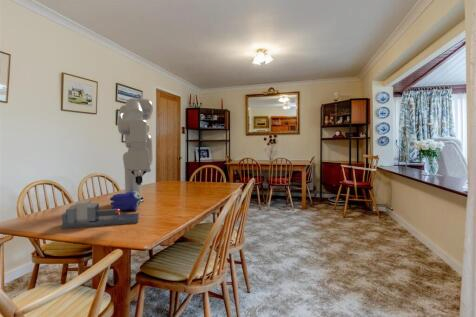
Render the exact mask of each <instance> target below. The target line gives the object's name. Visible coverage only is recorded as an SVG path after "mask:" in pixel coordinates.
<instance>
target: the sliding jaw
mask: <svg viewBox="0 0 476 317" xmlns="http://www.w3.org/2000/svg"><path fill="white" fill-rule="evenodd" d="M99 204H100V203H99V202H94V203H92V202H91V205H90V206H88V207H87V220H88V221H96V219H97V218H98V217H99V216H113V215H121V211H120V210H119V209H112V208H111V209H110V208H107V209H100V205H99Z"/></svg>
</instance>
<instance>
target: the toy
mask: <svg viewBox="0 0 476 317" xmlns="http://www.w3.org/2000/svg"><path fill="white" fill-rule="evenodd" d="M143 198H144V197H142V195H141V196H140V194H139V193H138V192H137V191H130V192H127V193H125V192H123V193H116V194H114V195H112V196H111V197H110V198H109V200H110V201H112V202H110V206H112V207H111V209H119V210H120V212H124V211H131V210H132V211H134V212H136V211H137V208H138V207H139V206H140V205H141V204H142V202H141V200H142V199H143Z"/></svg>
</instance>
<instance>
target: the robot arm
mask: <svg viewBox="0 0 476 317" xmlns="http://www.w3.org/2000/svg"><path fill="white" fill-rule="evenodd" d="M153 111H154V106H153V102H152V101H151V100H150V99H146V98H129V99H127V100H126V101H125V104H124V105H121V106H120V108H119V115H118V117H117V130H118V133H119V134H121V135H124V143H125V144H124V145H125V147H126V148H127V151H126V152H124V153H123V155H122V162H123V167H124V169H123V170H124V193H127V192H130V191H137V192H138V193H139V194H140V196H141V197H142V183H143V177H144V175H145V174H147V173H151V171H152V169H151V165H152V164H153V160H154V159H153V139H152V136H151V134H148V132H149V131H150V124H149V123H148V121H149V120H150V119H151V117H152V114H153ZM144 201H145V199H144V197H143V199H142V200H141V203H142V202H144Z"/></svg>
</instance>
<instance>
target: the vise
mask: <svg viewBox="0 0 476 317" xmlns="http://www.w3.org/2000/svg"><path fill="white" fill-rule="evenodd" d="M139 219H140V213H137V212H136V213H125V214H124V213H122V214H121V213H120V214H119V215H113V216H99V217H98V218H97V219H96V221H80V222H76V212H75V205H74V204H73V205H70V206H69V207H68V208H67V209H65V212H64V213H62V214H61V229H62V230H67V229H80V228H89V227H90V228H91V227H92V228H93V227H102V226H103V227H105V226H116V225H127V224H128V225H129V224H138V223H139Z"/></svg>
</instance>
